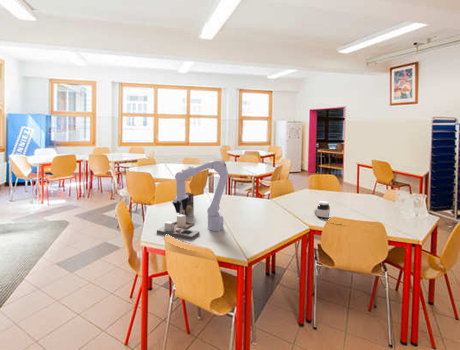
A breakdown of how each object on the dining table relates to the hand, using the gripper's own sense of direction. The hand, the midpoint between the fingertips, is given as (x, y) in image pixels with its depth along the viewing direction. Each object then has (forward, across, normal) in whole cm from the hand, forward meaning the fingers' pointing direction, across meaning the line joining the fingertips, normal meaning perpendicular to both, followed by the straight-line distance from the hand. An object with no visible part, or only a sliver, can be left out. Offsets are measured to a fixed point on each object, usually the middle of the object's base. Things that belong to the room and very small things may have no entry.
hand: (181, 211), depth 190 cm
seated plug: (+10, +13, 0) cm, 17 cm away
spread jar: (+11, -63, +79) cm, 102 cm away
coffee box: (+11, -22, -10) cm, 26 cm away
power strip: (+10, +13, +6) cm, 18 cm away
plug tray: (+10, 0, 0) cm, 10 cm away
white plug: (+10, 0, 0) cm, 10 cm away
